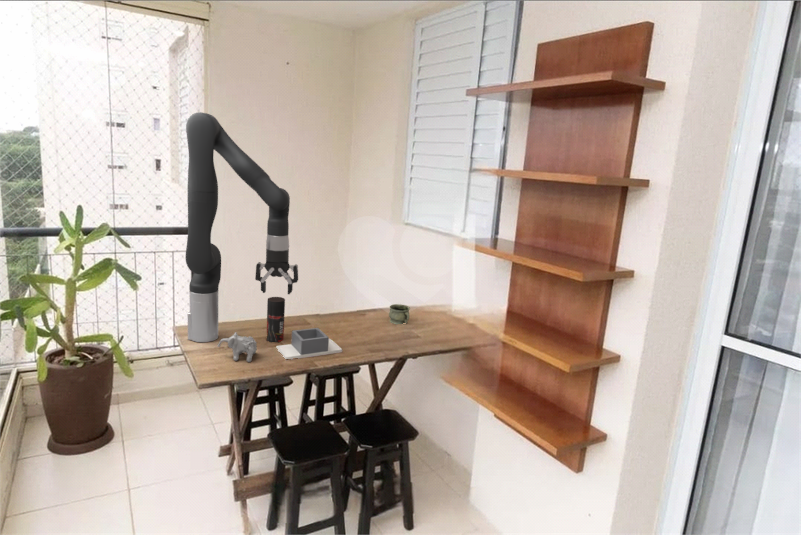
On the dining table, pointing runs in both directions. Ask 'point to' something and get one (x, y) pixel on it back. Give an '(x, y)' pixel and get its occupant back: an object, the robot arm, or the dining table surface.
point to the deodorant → (275, 319)
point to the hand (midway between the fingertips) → (276, 293)
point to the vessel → (399, 314)
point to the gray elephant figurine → (241, 346)
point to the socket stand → (308, 344)
